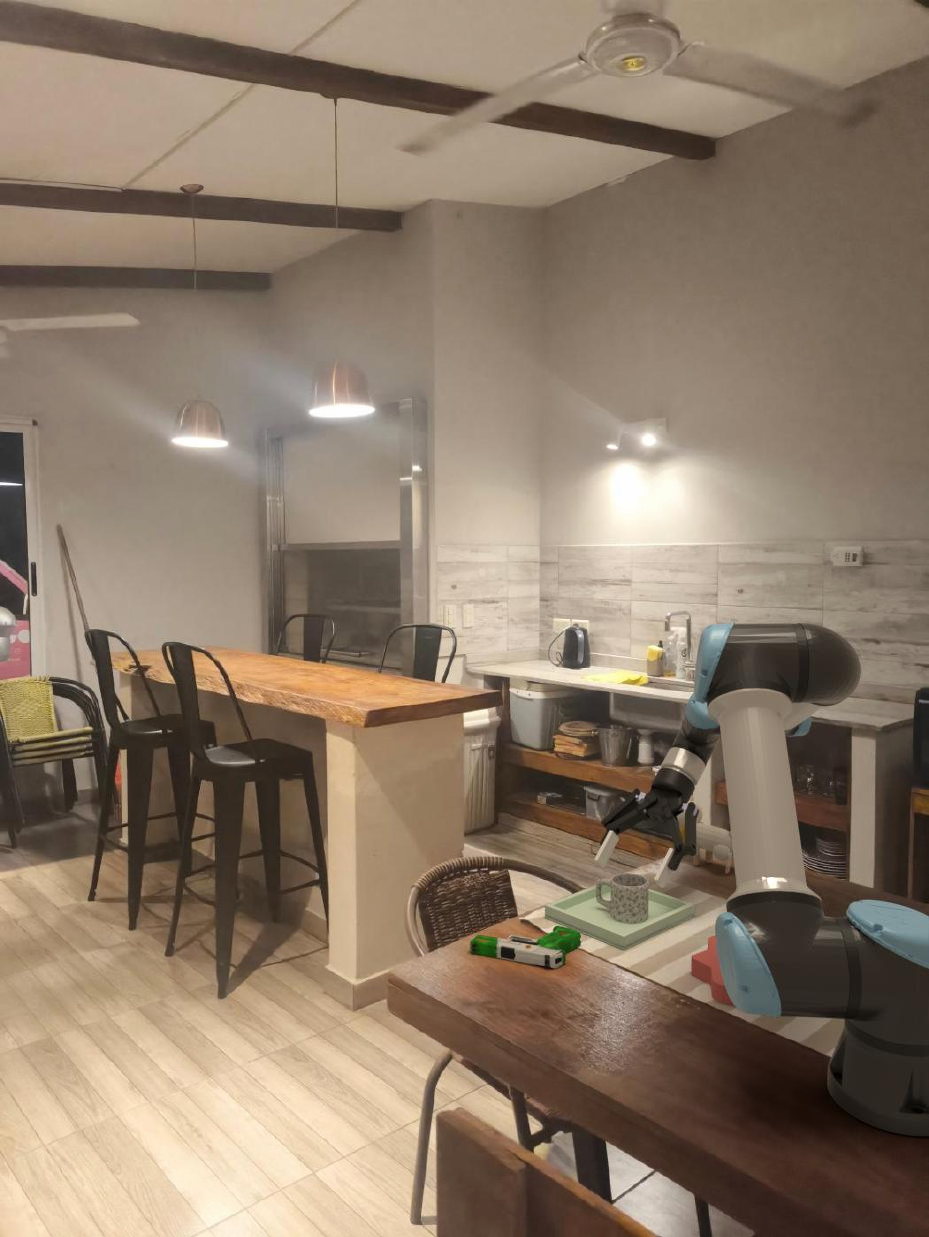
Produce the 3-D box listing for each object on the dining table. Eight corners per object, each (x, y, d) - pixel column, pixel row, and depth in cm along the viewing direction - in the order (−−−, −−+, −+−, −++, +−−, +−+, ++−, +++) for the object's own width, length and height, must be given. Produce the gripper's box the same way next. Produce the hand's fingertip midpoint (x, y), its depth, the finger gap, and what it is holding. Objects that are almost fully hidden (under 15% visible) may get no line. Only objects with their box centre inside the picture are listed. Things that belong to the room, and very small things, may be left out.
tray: (624, 950, 156) (624, 936, 155) (544, 917, 169) (544, 905, 169) (694, 916, 169) (694, 904, 169) (615, 888, 182) (615, 877, 182)
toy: (688, 850, 204) (689, 782, 202) (765, 874, 189) (767, 801, 188) (662, 859, 198) (662, 790, 197) (739, 885, 184) (741, 810, 182)
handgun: (497, 914, 165) (468, 939, 155) (583, 928, 159) (559, 955, 148) (497, 930, 166) (468, 956, 155) (583, 945, 159) (559, 974, 148)
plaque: (689, 929, 156) (784, 936, 153) (689, 951, 156) (783, 959, 153) (693, 979, 138) (800, 988, 135) (693, 1004, 139) (799, 1014, 136)
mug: (654, 914, 169) (654, 878, 168) (638, 926, 163) (639, 889, 163) (603, 901, 174) (604, 867, 174) (587, 913, 169) (587, 878, 168)
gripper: (743, 801, 172) (694, 903, 163) (633, 776, 190) (584, 866, 182) (727, 778, 168) (677, 881, 159) (617, 754, 186) (566, 845, 178)
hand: (627, 873), depth 170 cm, fingers open, 13 cm apart
